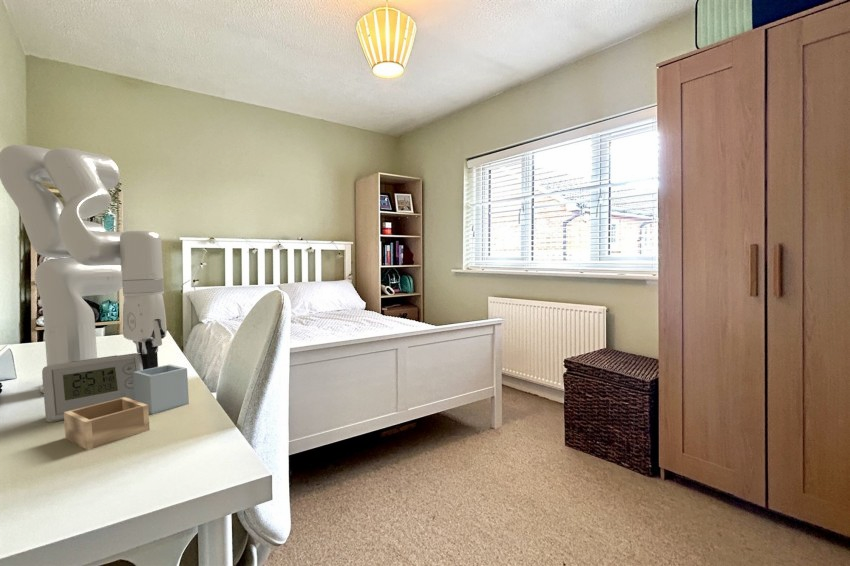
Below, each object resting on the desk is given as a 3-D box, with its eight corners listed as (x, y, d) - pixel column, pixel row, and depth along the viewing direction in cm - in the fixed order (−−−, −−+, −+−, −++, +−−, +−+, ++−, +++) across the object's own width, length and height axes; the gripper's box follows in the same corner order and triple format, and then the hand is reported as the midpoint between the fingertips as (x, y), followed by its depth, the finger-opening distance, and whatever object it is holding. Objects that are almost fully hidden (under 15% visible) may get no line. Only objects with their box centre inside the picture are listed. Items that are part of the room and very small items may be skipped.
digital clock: (41, 427, 77) (36, 370, 77) (51, 413, 85) (47, 361, 84) (146, 409, 86) (143, 357, 86) (147, 397, 94) (144, 350, 93)
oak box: (65, 441, 71) (63, 412, 71) (126, 423, 79) (124, 396, 78) (87, 453, 66) (85, 422, 66) (149, 433, 74) (148, 405, 73)
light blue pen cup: (135, 411, 85) (133, 371, 85) (171, 400, 91) (169, 364, 91) (152, 417, 81) (149, 376, 81) (189, 406, 87) (186, 368, 87)
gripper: (108, 288, 93) (113, 370, 94) (141, 289, 85) (146, 379, 86) (145, 286, 99) (150, 363, 100) (179, 287, 91) (184, 370, 92)
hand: (148, 370), depth 93 cm, fingers closed
